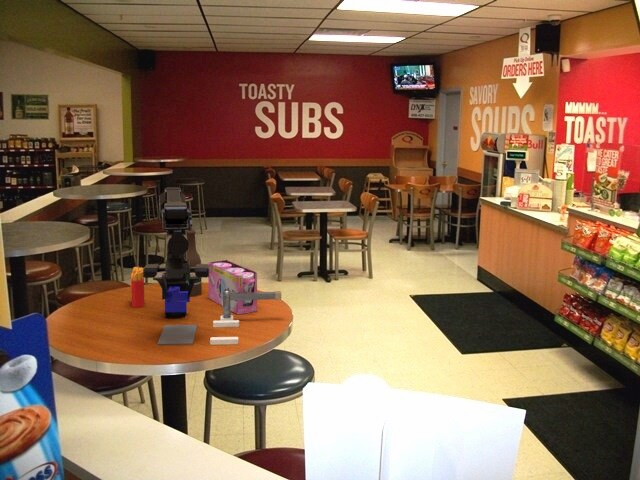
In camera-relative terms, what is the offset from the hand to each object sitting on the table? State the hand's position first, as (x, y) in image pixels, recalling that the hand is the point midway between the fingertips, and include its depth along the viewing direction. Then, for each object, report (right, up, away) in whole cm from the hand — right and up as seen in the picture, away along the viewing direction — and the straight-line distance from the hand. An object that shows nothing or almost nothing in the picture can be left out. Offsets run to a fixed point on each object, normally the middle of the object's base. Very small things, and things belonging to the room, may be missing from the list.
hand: (177, 298), depth 180 cm
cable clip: (-3, 0, 0) cm, 3 cm away
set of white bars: (+13, -11, +7) cm, 18 cm away
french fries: (-21, -5, +30) cm, 37 cm away
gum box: (+11, -6, +33) cm, 36 cm away
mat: (0, -11, +2) cm, 11 cm away
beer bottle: (-5, -3, +45) cm, 45 cm away
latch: (+20, -7, +18) cm, 28 cm away
